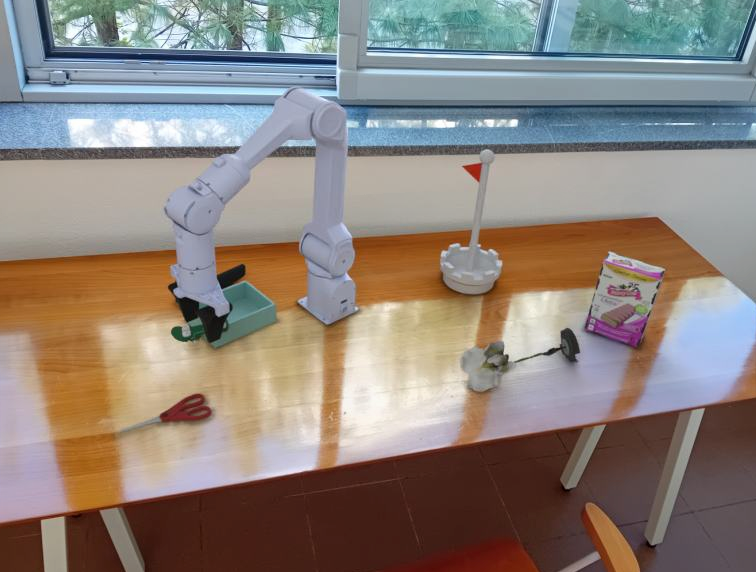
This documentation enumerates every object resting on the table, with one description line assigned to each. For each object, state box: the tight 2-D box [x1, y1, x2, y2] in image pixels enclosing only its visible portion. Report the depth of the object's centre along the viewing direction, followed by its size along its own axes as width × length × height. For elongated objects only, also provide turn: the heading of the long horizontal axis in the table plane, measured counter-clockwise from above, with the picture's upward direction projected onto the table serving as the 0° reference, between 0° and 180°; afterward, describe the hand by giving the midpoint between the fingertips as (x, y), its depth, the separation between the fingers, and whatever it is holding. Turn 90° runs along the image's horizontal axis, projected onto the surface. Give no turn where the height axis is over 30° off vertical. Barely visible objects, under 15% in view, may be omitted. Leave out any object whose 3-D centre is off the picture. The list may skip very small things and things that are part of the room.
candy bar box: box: [584, 251, 666, 349], centre depth 141 cm, size 11×5×16 cm, turn 65°
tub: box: [187, 279, 277, 349], centre depth 136 cm, size 10×13×4 cm
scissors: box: [115, 393, 212, 434], centre depth 114 cm, size 5×14×1 cm, turn 123°
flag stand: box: [439, 148, 503, 295], centre depth 149 cm, size 13×13×30 cm
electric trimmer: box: [175, 263, 247, 306], centre depth 144 cm, size 4×16×3 cm, turn 142°
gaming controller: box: [170, 319, 229, 345], centre depth 122 cm, size 9×4×6 cm
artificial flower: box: [459, 327, 581, 393], centre depth 131 cm, size 9×22×10 cm, turn 110°
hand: (202, 329), depth 122 cm, fingers closed on gaming controller, 6 cm apart
